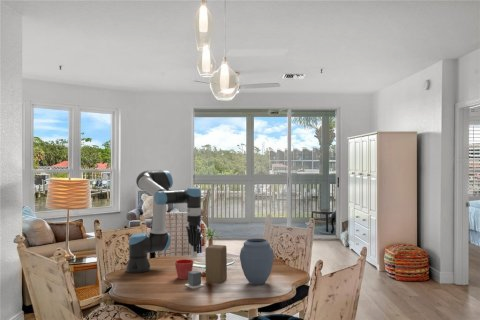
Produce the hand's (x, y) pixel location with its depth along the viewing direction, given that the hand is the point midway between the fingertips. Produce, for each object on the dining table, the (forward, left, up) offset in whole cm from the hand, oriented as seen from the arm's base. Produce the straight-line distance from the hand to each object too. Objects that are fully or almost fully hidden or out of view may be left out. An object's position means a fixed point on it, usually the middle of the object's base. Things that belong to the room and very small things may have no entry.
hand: (194, 256), depth 235 cm
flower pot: (-19, +5, -16) cm, 25 cm away
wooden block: (0, +15, -16) cm, 22 cm away
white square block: (0, 0, -16) cm, 16 cm away
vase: (+20, +29, -16) cm, 39 cm away
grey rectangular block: (0, 0, -15) cm, 15 cm away
